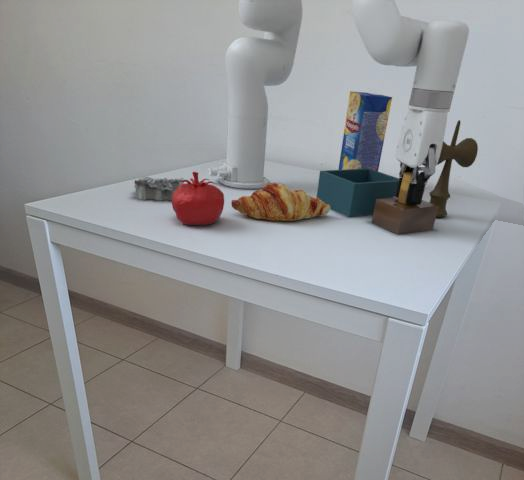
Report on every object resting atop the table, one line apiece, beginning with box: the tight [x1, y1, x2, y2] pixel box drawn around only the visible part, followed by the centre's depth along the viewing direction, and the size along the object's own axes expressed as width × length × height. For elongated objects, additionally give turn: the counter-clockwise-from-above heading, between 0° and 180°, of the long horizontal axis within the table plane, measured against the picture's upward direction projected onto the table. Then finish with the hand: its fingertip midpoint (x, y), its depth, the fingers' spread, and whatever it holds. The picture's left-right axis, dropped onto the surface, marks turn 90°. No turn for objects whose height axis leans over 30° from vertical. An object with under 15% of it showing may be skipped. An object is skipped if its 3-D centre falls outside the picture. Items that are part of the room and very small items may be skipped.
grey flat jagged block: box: [134, 176, 185, 201], centre depth 107 cm, size 11×8×4 cm
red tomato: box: [171, 171, 225, 226], centre depth 92 cm, size 10×10×9 cm
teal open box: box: [316, 168, 399, 218], centre depth 111 cm, size 15×13×7 cm
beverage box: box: [337, 91, 393, 172], centre depth 126 cm, size 7×11×22 cm, turn 11°
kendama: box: [429, 119, 479, 218], centre depth 106 cm, size 6×10×20 cm, turn 109°
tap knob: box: [398, 171, 420, 205], centre depth 98 cm, size 4×4×6 cm
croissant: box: [230, 182, 331, 222], centre depth 100 cm, size 21×10×8 cm, turn 103°
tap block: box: [371, 196, 439, 235], centre depth 101 cm, size 10×8×5 cm
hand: (407, 199), depth 99 cm, fingers closed on tap knob, 4 cm apart
